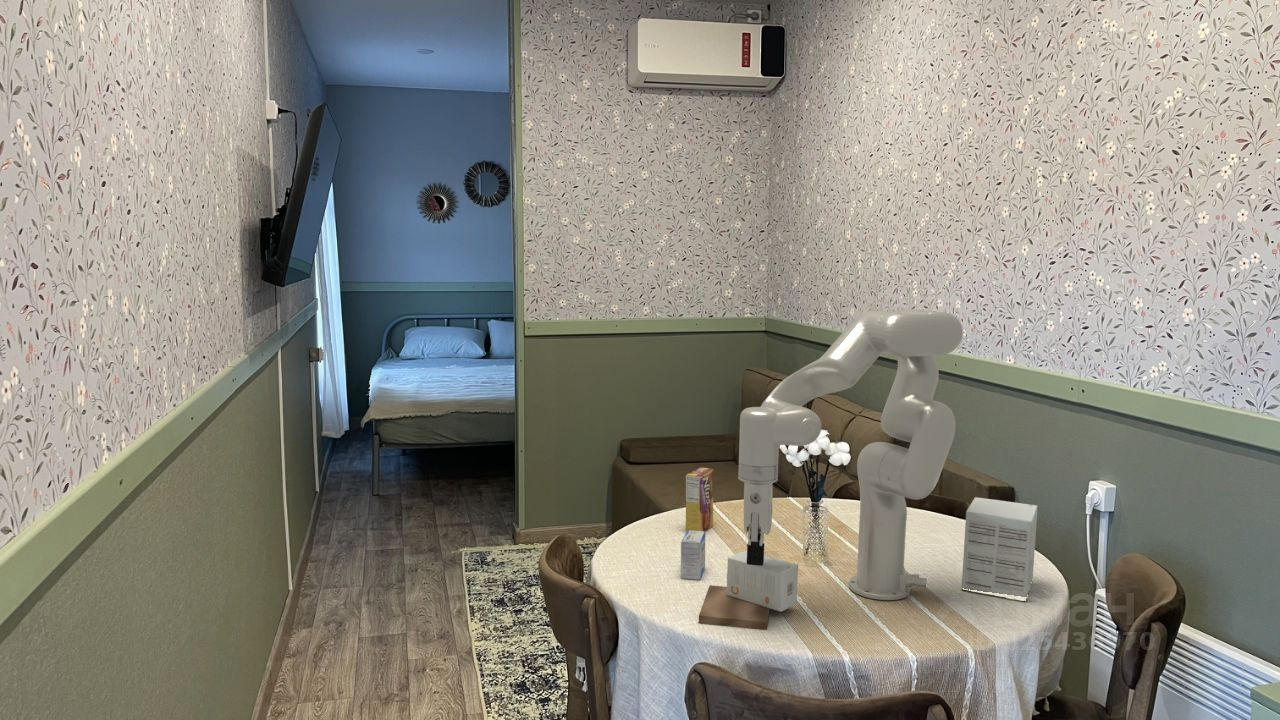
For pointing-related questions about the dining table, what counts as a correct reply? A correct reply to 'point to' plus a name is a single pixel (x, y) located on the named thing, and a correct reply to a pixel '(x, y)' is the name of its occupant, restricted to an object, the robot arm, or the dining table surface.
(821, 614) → the dining table surface
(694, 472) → the candy box
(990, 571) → the supplement box
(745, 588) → the small box
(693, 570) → the medicine box
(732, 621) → the walnut board
